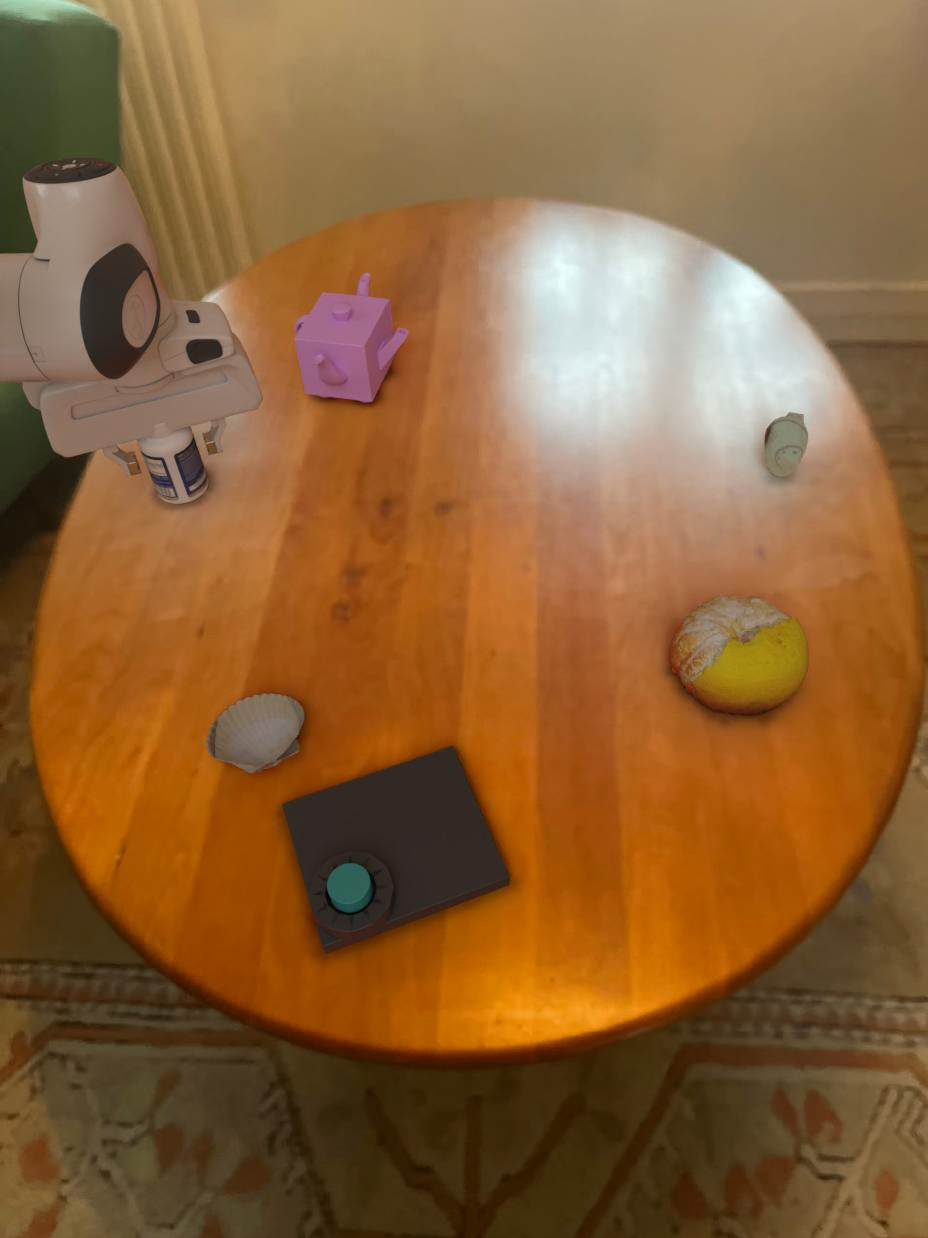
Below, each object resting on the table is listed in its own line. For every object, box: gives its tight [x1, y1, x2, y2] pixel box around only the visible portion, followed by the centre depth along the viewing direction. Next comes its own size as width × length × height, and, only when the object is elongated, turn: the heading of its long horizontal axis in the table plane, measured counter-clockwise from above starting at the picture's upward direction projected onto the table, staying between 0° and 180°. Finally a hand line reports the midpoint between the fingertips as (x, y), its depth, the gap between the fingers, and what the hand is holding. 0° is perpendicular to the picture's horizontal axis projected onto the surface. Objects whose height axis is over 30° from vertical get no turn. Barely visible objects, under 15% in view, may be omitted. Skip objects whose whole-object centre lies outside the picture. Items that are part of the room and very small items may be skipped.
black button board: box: [281, 745, 511, 955], centre depth 71 cm, size 14×12×3 cm
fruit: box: [669, 594, 810, 717], centre depth 79 cm, size 11×10×8 cm
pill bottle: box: [136, 423, 209, 505], centre depth 95 cm, size 5×5×10 cm
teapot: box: [293, 272, 410, 403], centre depth 106 cm, size 18×13×10 cm
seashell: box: [205, 692, 306, 774], centre depth 77 cm, size 8×3×8 cm
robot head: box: [763, 411, 809, 478], centre depth 94 cm, size 8×4×7 cm, turn 164°
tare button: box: [327, 863, 373, 913], centre depth 66 cm, size 3×3×2 cm
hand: (174, 460), depth 96 cm, fingers open, 7 cm apart
